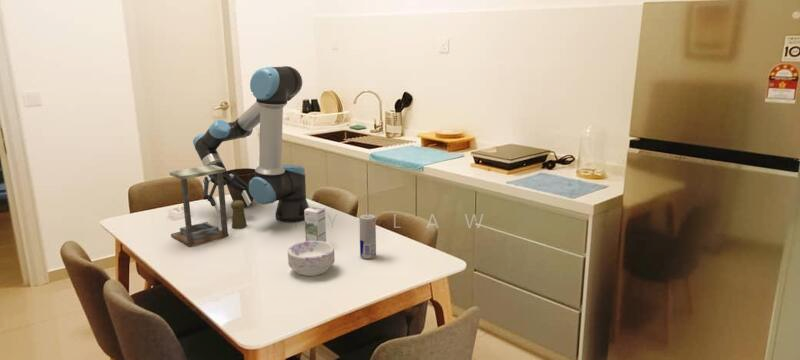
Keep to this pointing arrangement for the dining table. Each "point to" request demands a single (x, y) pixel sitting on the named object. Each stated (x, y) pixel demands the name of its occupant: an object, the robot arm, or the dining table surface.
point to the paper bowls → (311, 257)
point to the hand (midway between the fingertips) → (234, 208)
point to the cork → (238, 215)
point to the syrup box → (315, 224)
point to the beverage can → (367, 236)
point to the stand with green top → (190, 233)
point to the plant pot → (246, 176)
